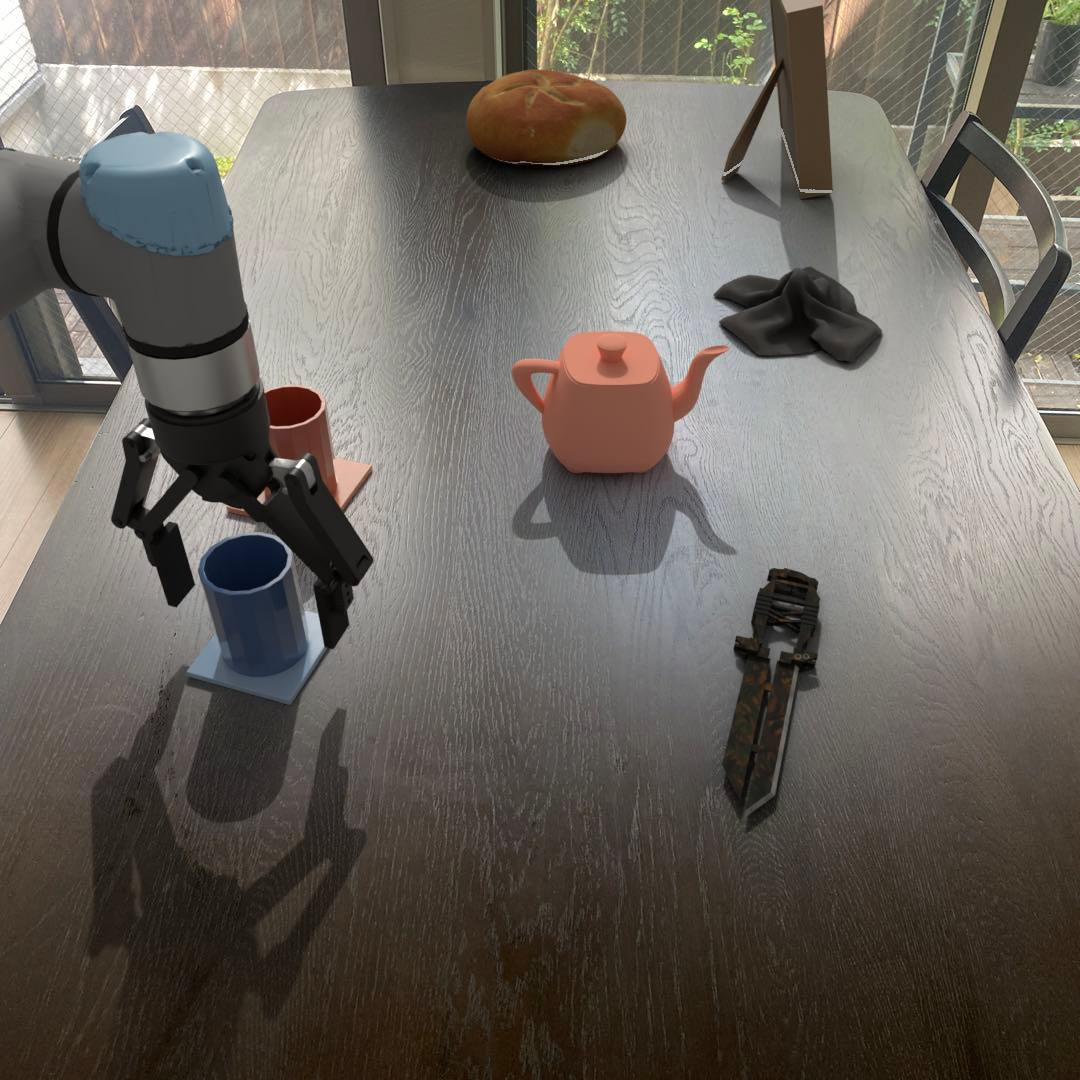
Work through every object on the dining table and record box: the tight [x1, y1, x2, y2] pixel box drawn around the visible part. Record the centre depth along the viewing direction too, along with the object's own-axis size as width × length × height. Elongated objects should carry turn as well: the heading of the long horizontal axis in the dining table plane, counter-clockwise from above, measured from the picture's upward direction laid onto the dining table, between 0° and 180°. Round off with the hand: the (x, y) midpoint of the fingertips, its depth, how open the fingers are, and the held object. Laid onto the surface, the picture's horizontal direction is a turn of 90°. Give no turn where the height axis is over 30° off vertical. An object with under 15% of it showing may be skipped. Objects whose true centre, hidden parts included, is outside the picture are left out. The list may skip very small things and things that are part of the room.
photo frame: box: [720, 0, 834, 200], centre depth 149 cm, size 15×22×25 cm
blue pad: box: [186, 609, 328, 706], centre depth 86 cm, size 9×9×1 cm
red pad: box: [226, 457, 374, 518], centre depth 101 cm, size 10×10×1 cm
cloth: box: [712, 266, 883, 363], centre depth 124 cm, size 22×19×6 cm
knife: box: [721, 567, 821, 819], centre depth 83 cm, size 25×6×1 cm, turn 157°
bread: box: [465, 69, 627, 167], centre depth 160 cm, size 23×23×10 cm
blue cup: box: [197, 531, 309, 677], centre depth 83 cm, size 7×7×9 cm
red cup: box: [264, 384, 338, 498], centre depth 98 cm, size 7×7×9 cm
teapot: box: [511, 330, 730, 474], centre depth 103 cm, size 13×20×12 cm, turn 90°
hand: (258, 615), depth 84 cm, fingers open, 13 cm apart
